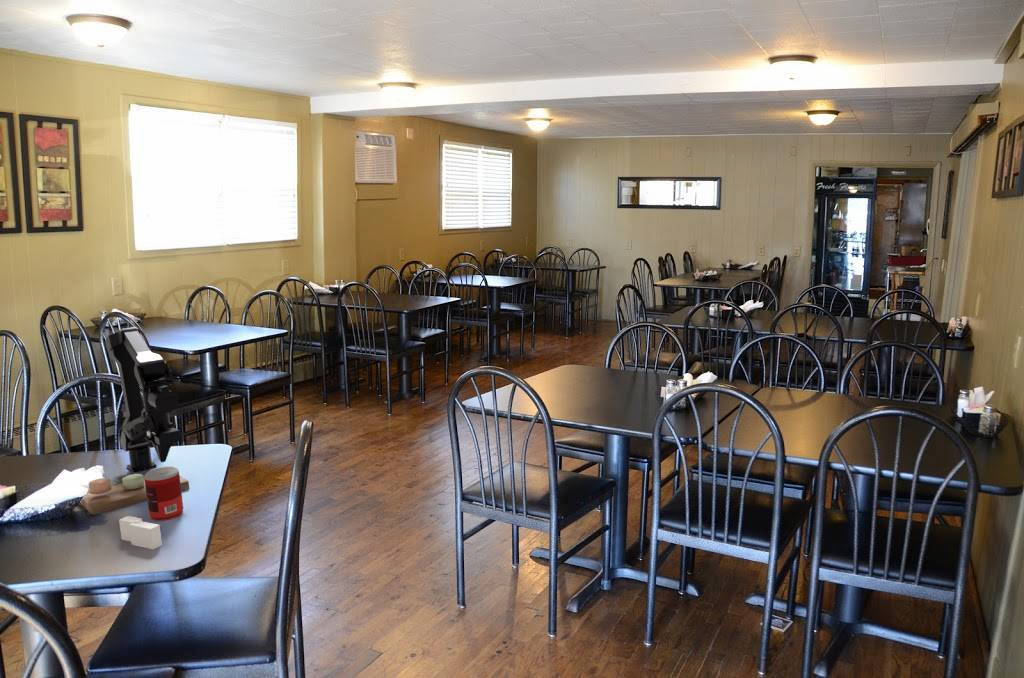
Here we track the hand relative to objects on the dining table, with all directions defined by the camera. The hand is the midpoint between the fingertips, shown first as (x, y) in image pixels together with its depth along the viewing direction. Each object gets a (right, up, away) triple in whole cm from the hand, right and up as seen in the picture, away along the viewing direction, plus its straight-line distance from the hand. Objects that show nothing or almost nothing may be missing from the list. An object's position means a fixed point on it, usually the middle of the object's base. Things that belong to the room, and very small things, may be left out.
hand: (162, 461), depth 217 cm
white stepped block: (+9, -14, -32) cm, 36 cm away
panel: (-6, -8, -4) cm, 11 cm away
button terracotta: (-12, -6, -10) cm, 16 cm away
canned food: (+9, -11, -18) cm, 22 cm away
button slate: (0, -5, +1) cm, 5 cm away
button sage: (-6, -6, -4) cm, 9 cm away
